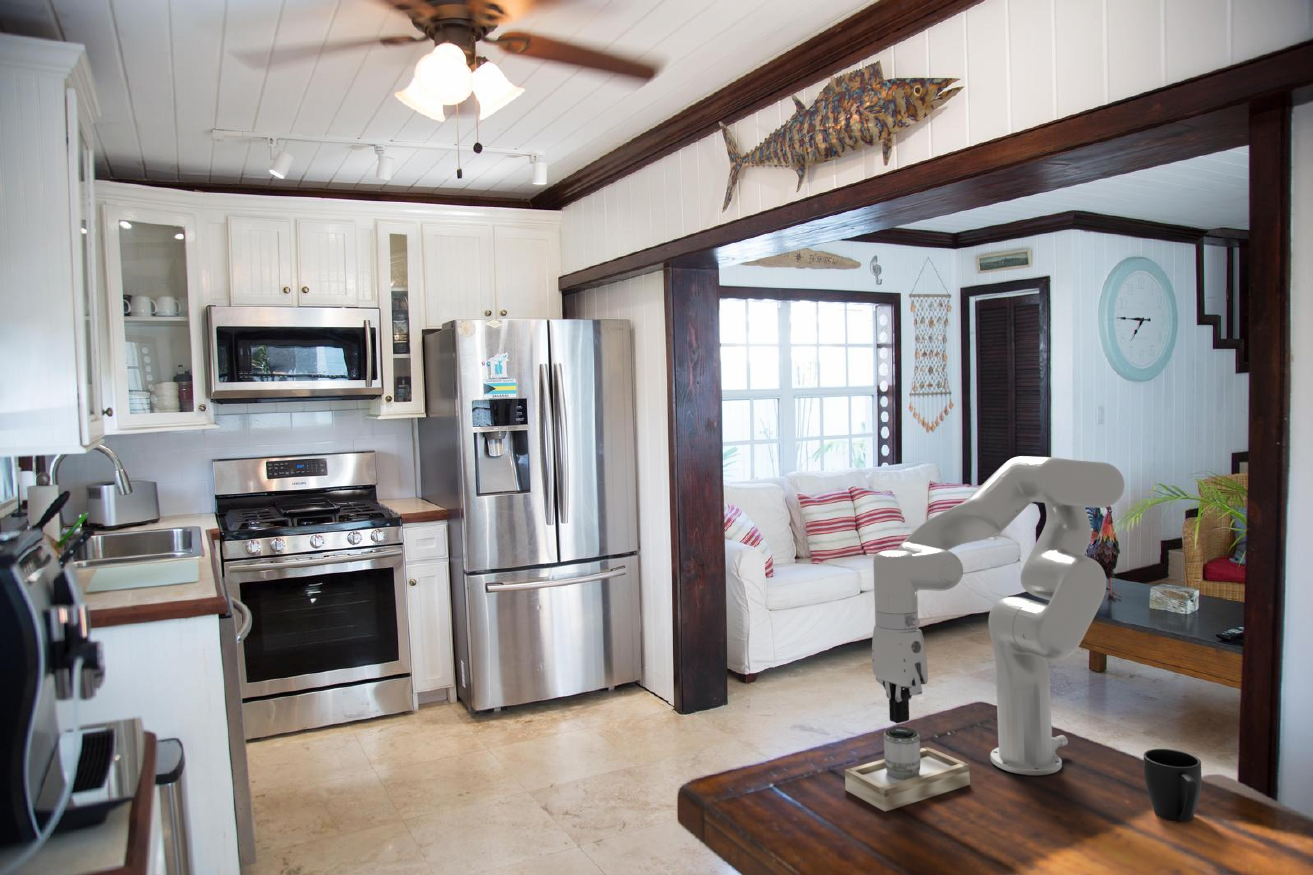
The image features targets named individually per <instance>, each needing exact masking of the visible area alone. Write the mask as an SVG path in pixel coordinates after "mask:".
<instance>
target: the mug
mask: <svg viewBox="0 0 1313 875" xmlns="http://www.w3.org/2000/svg"><path fill="white" fill-rule="evenodd" d="M1143 774H1144V781H1145V786H1146V790H1147V794H1148V796H1149V799H1150V803H1151V806H1152V809H1153V812H1154V814H1155V815H1156V816H1157V817H1159V818H1160V819H1162V820H1165V821H1168V822H1172V823H1173V822H1174V823H1189V822H1191V821H1193V820H1194V819H1195V818H1194V816H1195V813H1196V810H1197V808H1198V804H1199V800H1200V796H1201V791H1202V790H1201V789H1202V761H1201V760H1200V758H1198V757H1197V756H1195V755H1194V754H1191V753H1189V752H1186V751H1182V750H1176V749H1169V748H1153V749H1148V750H1147V751H1145V752H1144V753H1143Z"/></svg>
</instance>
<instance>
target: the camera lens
mask: <svg viewBox="0 0 1313 875" xmlns="http://www.w3.org/2000/svg"><path fill="white" fill-rule="evenodd" d="M920 738H921V737H920V735H919V733H918V732H917V731H916V730H915V729H913V728H910V727H906V726H905V727H904V726H893V727H890V728H887V729H886V730H885V731H884V733H883V746H884V759H885V766H886V769H887V773H888V775H890V776H892V777H894V778H898V779H910V778H914V777H917V776H918V775H919V771H920V765H921V761H920V749H921V743H920V742H921V740H920Z"/></svg>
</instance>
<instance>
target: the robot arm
mask: <svg viewBox="0 0 1313 875" xmlns="http://www.w3.org/2000/svg"><path fill="white" fill-rule="evenodd" d="M1124 491H1125V480H1124V476H1123V474H1122V473H1121V471H1120V470H1119V469H1118V467H1116V466H1115V465H1113V464H1110V463H1109V462H1105V461H1103V462H1101V461H1090V460H1089V461H1088V460H1077V459H1067V458H1061V457H1060V458H1059V457H1051V456H1050V457H1049V456H1030V455H1029V456H1028V455H1027V456H1025V455H1022V456H1021V455H1020V456H1015V457H1012V458H1010V459H1009V460H1007V461H1006V462H1005V463H1003V464H1002V465H1001V466H1000V467H999V468H998V469H997V470H996V471H994V473H993V474H991V476H989V477H988V479H986V480H985V481H984V483H982V484H981V485H980V486H979V487H978V488H977V489H976V490H975V491H974V492H973V493H972V494H971V495H970V496H969V497H968V498H967V499H965V500H964V501H962V502H961V503H959V504H957V505H955V506H952V507H950V508H949V509H947V510H945V511H943V512H941V513H939V514H938V515H937V514H936V515H935V516H933V517H931V518H929V519H928V520H926V521H925V522H923V523H922V524H921V525H919V526H918V527H917V528H916V529H914V530H913V531H912V532H911V534H909V535H908V536H907V537H906V538H905V539H904V540H903V541H902V542H901V543H900V545H899V546H898V548H896V549H895V550H893V549H890V550H882V551H879V552H877V553H876V554H875V555H874V556H873V564H872V565H873V591H874V592H873V593H874V622H875V623H874V626H873V633H872V642H871V643H872V644H871V667H872V674H873V675H874V676H875V680H876V682H877V683H879V685H882V686H883V688H884V690H885V695H886V698H887V699H888V702H889V703H888V705H889V707H888V708H889V711H888V712H889V721H890V722H893V723H895V724H900V723H905V722H908V721H910V704H909V703H910V700H912V696H919V695H923V689H922V685H926V684H928V681H929V674H928V673H929V672H928V661H927V659H928V658H927V651H926V645H925V644H926V643H925V639H924V635H923V632H922V630H921V629H920V628H919V626H920V623H921V621H920V618H919V602H918V599H919V598H918V591H932V592H933V591H935V592H941V591H947V590H951V589H953V588H955V587H956V586H957V585H958V584H959V583H960V582H961V580H962V578H963V575H964V566H963V563H962V561H961V559H960V558H959V557H958V556H957V555H956V554H955V553H953V552H951V551H950V550H952V549H953V548H956V547H958V546H961V545H964V544H969V543H973V542H978V541H983V540H987V539H990V538H993V537H996V536H998V535H1000V534H1001V533H1003V531H1005V529H1006V528H1007V527H1008V526H1010V524H1011V523H1012V522H1013V521H1014V520H1015V519H1016V518H1017V517H1018V516H1019V515H1020V514H1021V513H1022V512H1023V511H1024V510H1025V509H1026V508H1027V507H1029V505H1030V504H1032V503H1035V502H1036V503H1043V504H1044V506H1045V511H1046V521H1045V524H1044V526H1043V529H1042V531H1041V533H1040V535H1039V537H1038V538H1037V541H1036V542H1035V544H1034V546H1033V548H1032V550H1031V551H1030V553H1029V556H1028V558H1027V559H1026V561H1025V563H1024V565H1023V567H1022V569H1021V574H1020V583H1021V586H1022V588H1023V589H1024V590H1025V591H1026V592H1027V593H1028V594H1030V595H1031V596H1035V597H1037V598H1040V599H1043V600H1048V601H1049V602H1048V603H1044V602H1041V601H1038V600H1034V599H1033V600H1032V599H1029V598H1025V597H1021V596H1008V597H1004V598H1001V599H999V600H998V601H997V602H995V603H994V605H993V606H992V607H991V609H990V611H989V614H988V628H989V629H988V630H989V634H990V635H989V636H990V638H991V643H992V647H993V648H992V649H993V653H994V662H995V663H994V664H995V682H996V684H995V685H996V708H997V709H996V712H997V738H998V741H997V742H998V747H996V748H994V749H992V751H991V752H990V762H991V763H992V764H993V765H995V766H996V767H997V768H998V769H1001V770H1004V771H1007V772H1009V773H1014V774H1018V775H1025V776H1045V775H1051V774H1054V773H1055V774H1056V773H1058V772H1059V771H1060V770H1062V767H1063V761H1062V759H1061V757H1060V756H1059V755H1058V754H1056V750H1058V748H1060V747H1061V748H1062V747H1065V746H1066V745H1068V744H1069V740H1068V738H1067V737H1066V735H1063V734H1061V735H1057V736H1054V737H1053V728H1052V726H1053V725H1052V703H1051V701H1052V700H1051V675H1050V668H1049V663H1048V660H1053V661H1054V660H1055V661H1061V660H1065V659H1067V658H1068V657H1070V656H1071V655H1073V654H1074V653H1075V651H1076V650H1077V649H1078V648H1079V646H1080V645H1081V643H1082V641H1083V640H1084V638H1085V635H1086V634H1087V632H1088V630H1089V628H1090V626H1091V624H1092V622H1093V620H1094V618H1095V616H1096V615H1097V612H1098V611H1099V609H1100V606H1101V605H1102V603H1103V601H1104V598H1105V595H1106V591H1107V576H1106V573H1105V570H1104V568H1103V567H1102V565H1101V564H1100V563H1099V562H1098V561H1097V560H1095V559H1094V558H1093V557H1092V558H1091V557H1089V556H1086V553H1087V549H1088V547H1089V545H1090V543H1091V540H1092V525H1091V521H1090V518H1089V514H1088V512H1087V510H1086V507H1088V508H1089V507H1090V508H1099V509H1103V508H1109V507H1111V506H1113V505H1115V504H1116V503H1117V502H1118V501H1119V500H1120V499H1121V498H1122V496H1123V494H1124ZM1047 659H1048V660H1047Z"/></svg>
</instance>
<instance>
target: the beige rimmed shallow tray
mask: <svg viewBox="0 0 1313 875" xmlns="http://www.w3.org/2000/svg"><path fill="white" fill-rule="evenodd" d="M920 761H921V765H920V771H919V775H918V776H917V777H914V778H910V779H898V778H894V777H892V776H890V775H888V773H887V769H886V766H885V758H883V759H879V760H876V761H872V762H868V763H865V764H862V765H859V766H858V765H857V766H854V767H850V768H847V769H845V770H844V778H845V781H844V783H845V790H846V791H847V792H848V793H850V794H852V795H854V796H856V797H857V798H859V799H861V800H863V801H864V802H867V803H869V804H870V805H872V806H873V807H876V808H878V809H880V810H882V812H887V811H891V810H895V809H898V808H901V807H904V806H906V805H907V806H908V805H910V804H913V803H917V802H920V801H923V800H927V799H929V798H933V797H936V796H938V795H939V796H940V795H941V794H945V793H948V792H951V791H954V790H957V789H960V788H964V787H967V786H970V785H971V782H970V781H971V779H970V778H971V777H970V764H969V763H966V762H964V761H962V760H960V759H957V758H955V757H952V756H950V755H947V754H945V753H943V752H940V751H938V750H936V749H934V748H932V747H929V746H925V747H920Z"/></svg>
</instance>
